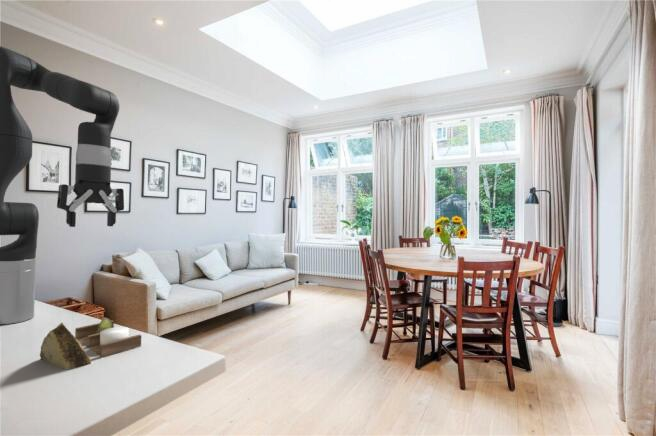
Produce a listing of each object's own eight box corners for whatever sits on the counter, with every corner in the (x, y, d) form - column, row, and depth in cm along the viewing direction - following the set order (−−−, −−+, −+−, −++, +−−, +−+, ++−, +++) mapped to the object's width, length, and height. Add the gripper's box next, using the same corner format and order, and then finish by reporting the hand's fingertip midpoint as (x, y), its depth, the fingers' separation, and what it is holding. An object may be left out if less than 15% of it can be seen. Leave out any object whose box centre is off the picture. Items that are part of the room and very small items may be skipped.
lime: (98, 343, 79) (99, 322, 79) (86, 339, 81) (86, 318, 81) (117, 337, 83) (117, 316, 83) (104, 333, 85) (105, 313, 85)
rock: (22, 354, 69) (21, 365, 61) (55, 315, 73) (58, 322, 65) (74, 374, 74) (79, 387, 66) (103, 338, 78) (110, 345, 70)
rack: (75, 342, 81) (75, 328, 81) (111, 333, 87) (112, 320, 87) (102, 361, 71) (102, 345, 71) (140, 350, 78) (141, 335, 78)
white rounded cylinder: (93, 349, 75) (94, 334, 75) (111, 341, 80) (112, 326, 80) (117, 351, 74) (117, 335, 74) (133, 342, 80) (134, 327, 80)
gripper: (117, 168, 95) (115, 225, 95) (54, 160, 83) (52, 225, 83) (129, 167, 90) (127, 227, 91) (65, 159, 79) (63, 227, 79)
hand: (91, 226), depth 87 cm, fingers open, 8 cm apart
